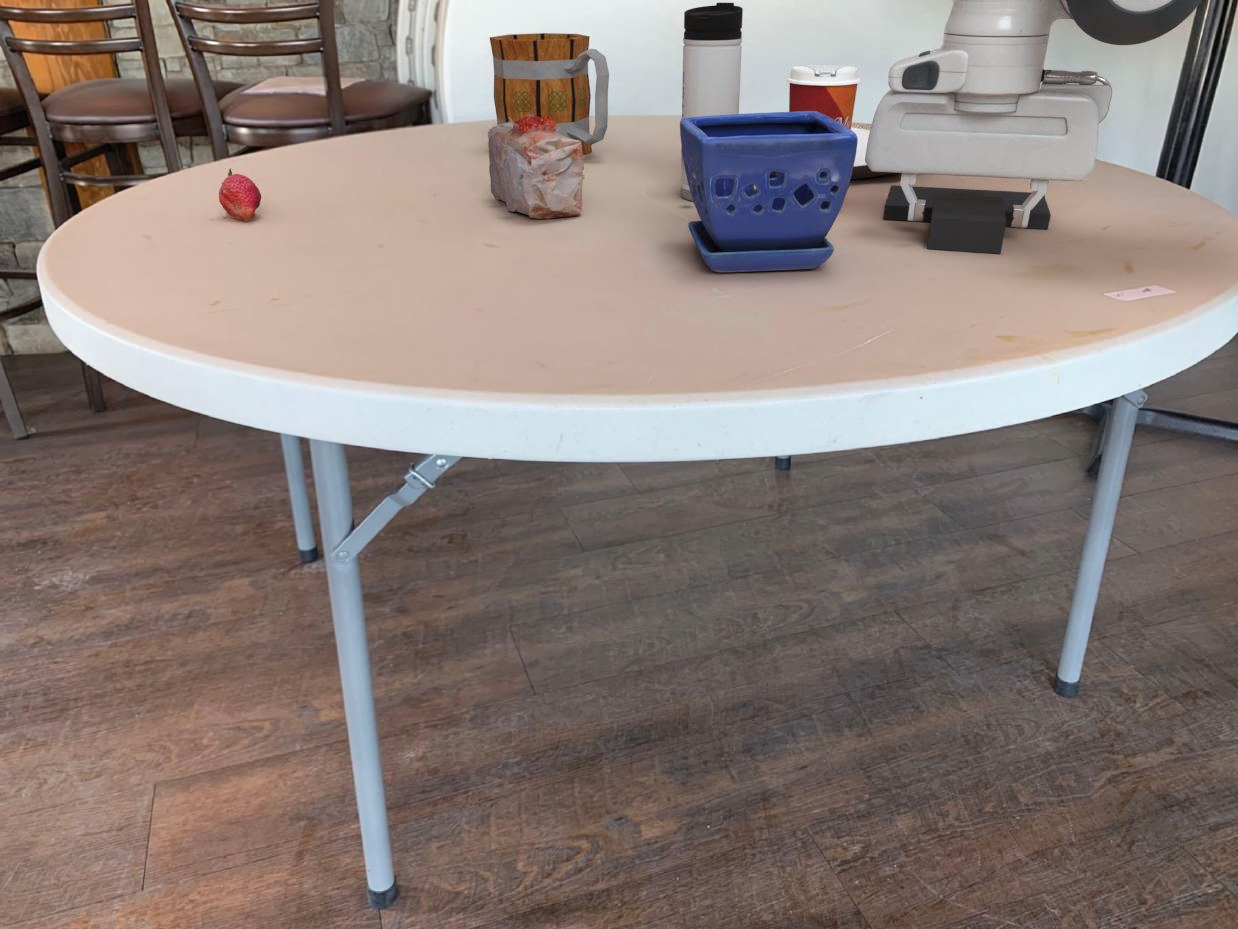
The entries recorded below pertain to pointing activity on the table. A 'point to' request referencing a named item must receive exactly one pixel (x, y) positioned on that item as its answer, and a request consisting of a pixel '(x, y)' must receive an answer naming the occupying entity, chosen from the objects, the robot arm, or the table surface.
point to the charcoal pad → (900, 207)
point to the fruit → (239, 196)
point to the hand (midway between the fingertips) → (966, 222)
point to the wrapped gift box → (536, 168)
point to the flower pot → (766, 187)
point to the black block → (967, 222)
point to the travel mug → (710, 65)
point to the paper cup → (824, 90)
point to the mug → (550, 82)
